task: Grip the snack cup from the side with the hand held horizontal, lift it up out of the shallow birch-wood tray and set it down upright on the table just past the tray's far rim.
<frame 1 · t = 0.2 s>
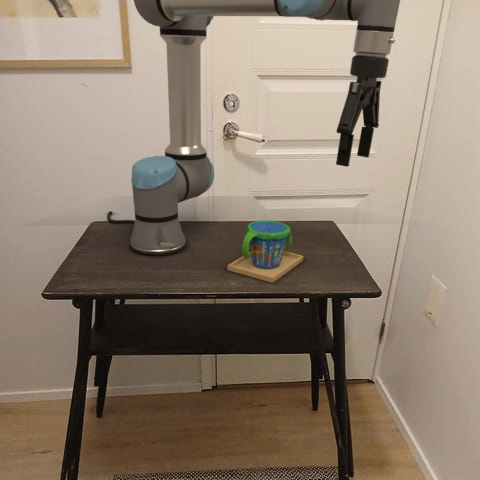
hand: (353, 160, 111), 28 cm above the table, tool pointing down, fingers open, 13 cm apart
tray: (266, 265, 127), on the table
snack cup: (266, 264, 127), resting on tray
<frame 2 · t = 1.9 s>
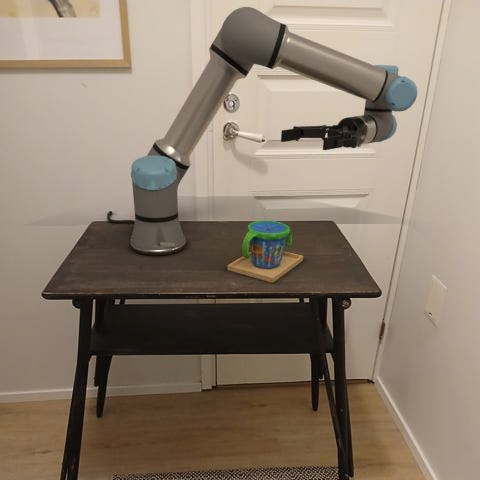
hand: (302, 140, 118), 30 cm above the table, tool horizontal, fingers open, 13 cm apart
nothing on the table moved.
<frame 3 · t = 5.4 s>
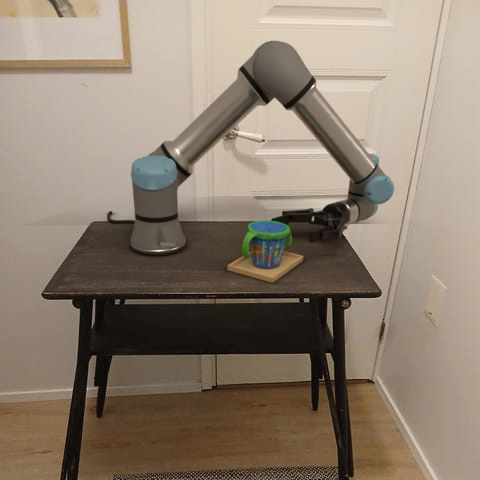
hand: (290, 230, 129), 8 cm above the table, tool horizontal, fingers open, 13 cm apart
nothing on the table moved.
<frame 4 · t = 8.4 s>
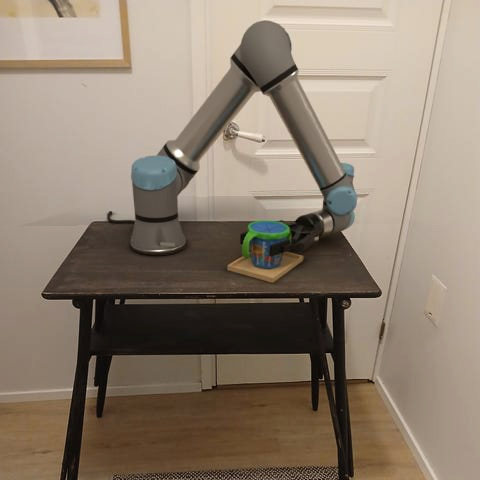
hand: (255, 245, 121), 7 cm above the table, tool horizontal, fingers closed on snack cup, 10 cm apart
snack cup: (266, 264, 127), resting on tray, touching gripper
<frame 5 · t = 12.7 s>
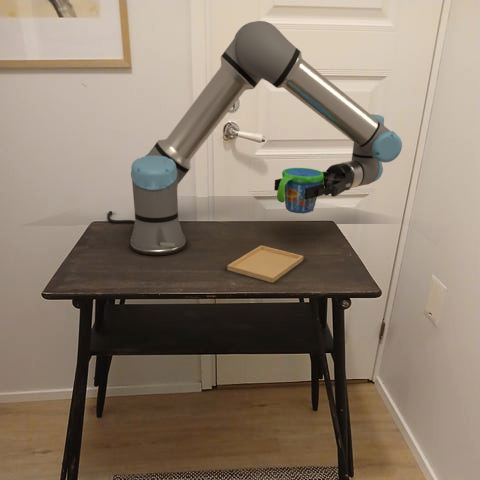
hand: (290, 189, 125), 18 cm above the table, tool horizontal, fingers closed on snack cup, 10 cm apart
snack cup: (299, 211, 131), point 12 cm above the table, touching gripper
when the fingers open (6 cm above the table, at t = 16.8 s): snack cup stays where it is, on the table.
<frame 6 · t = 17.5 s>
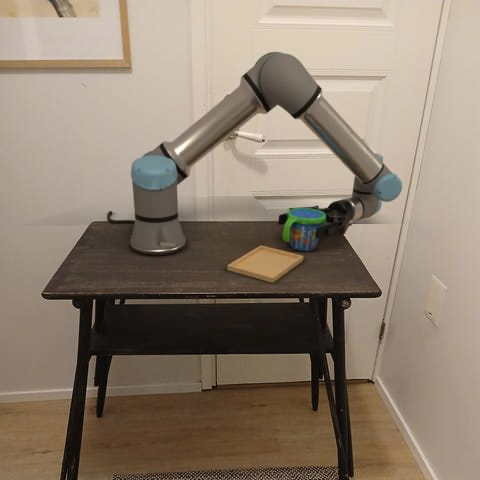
hand: (297, 226, 133), 7 cm above the table, tool horizontal, fingers open, 13 cm apart
snack cup: (303, 248, 139), on the table
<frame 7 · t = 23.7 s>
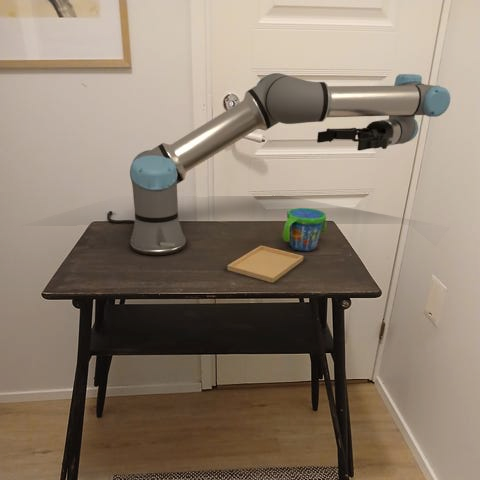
hand: (338, 141, 131), 28 cm above the table, tool horizontal, fingers open, 13 cm apart
nothing on the table moved.
at the end: snack cup inside the target area (0.1 cm from its centre), on the table; snack cup touching table; snack cup tilted 0° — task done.
